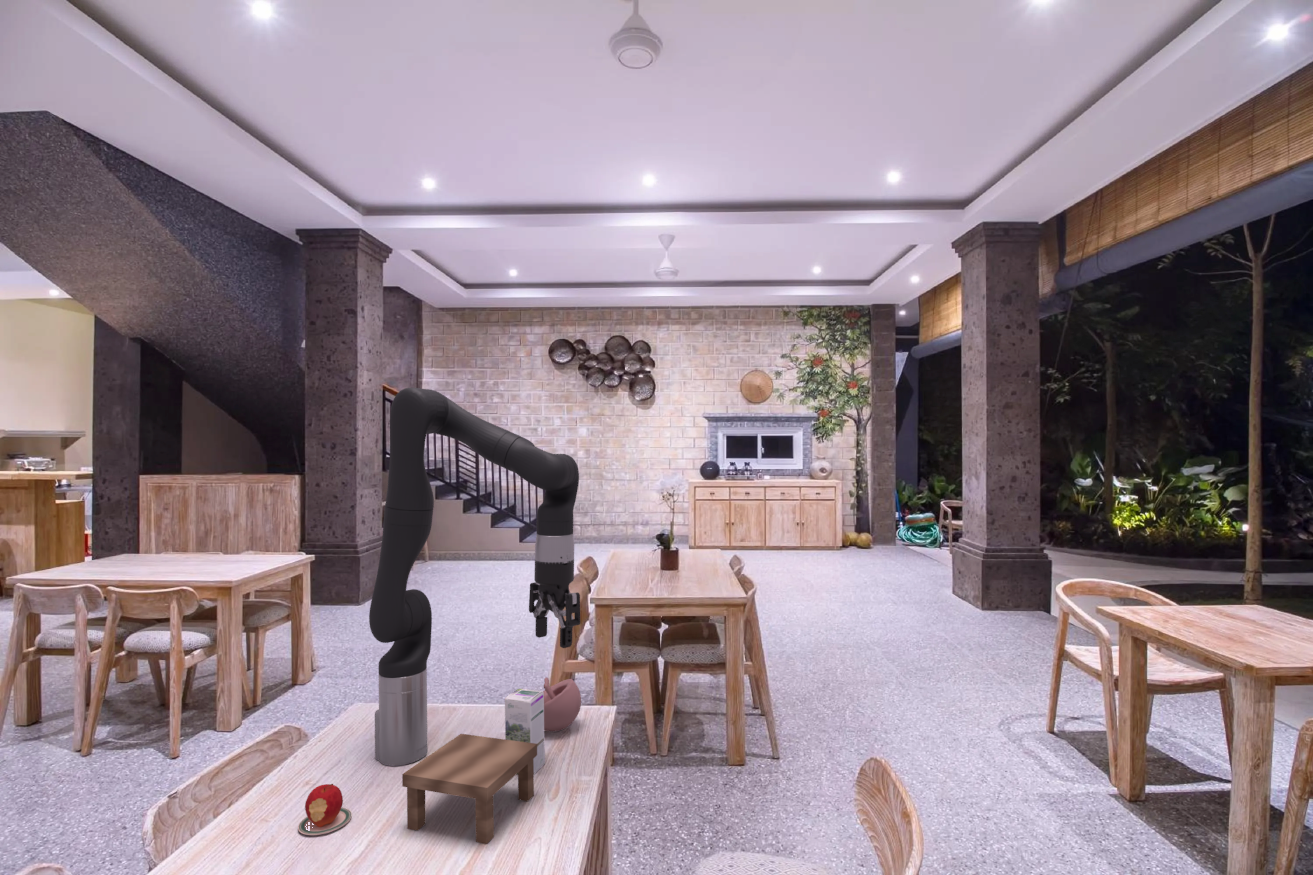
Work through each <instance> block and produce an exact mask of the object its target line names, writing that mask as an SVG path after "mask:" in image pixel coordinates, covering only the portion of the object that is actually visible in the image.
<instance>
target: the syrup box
mask: <svg viewBox="0 0 1313 875" xmlns="http://www.w3.org/2000/svg"><path fill="white" fill-rule="evenodd" d="M543 691H544V690H536V689H525V688H517V689H516V690H514V691H512V692H510V693H509V694H508V695H507V696H506V697H505V698H504V724H505V728H504V729H505V730H504V731H505V732H504V733H505V734H504V736H505V740H512V741H520V742H527V743H535V744H537V756H536V757H535V758H533V764H534V775H535V774H536V773H538V771H539V770H541V769H542V767H543V766H544V765H545V764H546V751H545V730H544V692H543ZM516 775H518V773H517V774H516Z"/></svg>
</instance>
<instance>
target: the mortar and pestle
mask: <svg viewBox="0 0 1313 875" xmlns="http://www.w3.org/2000/svg"><path fill="white" fill-rule="evenodd" d="M543 679H544V684H543V689H544V690H542V691H543V692H544V732H545V731H546V732H550V733H553V732H554V733H555V732H559V731H562V730H564V729H567V728H568V727H569V726H571V725H572V724H573V723H574V722H575V720H576V719H577V717H578V715H579V714H580V713H579V712H580V711H581V707H582V696H581V692H580V689H579V686H578V685H577V683H576V682H575V681H574V680H573V678H568V679H564V680H561V681H559V682H558V683H555V684H553V685H550V679H549V677H545V678H543Z"/></svg>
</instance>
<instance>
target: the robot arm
mask: <svg viewBox="0 0 1313 875" xmlns="http://www.w3.org/2000/svg"><path fill="white" fill-rule="evenodd" d="M389 413H390V415H389V441H390V442H389V443H390V444H389V446H390V447H389V449H390V450H389V464H388V476H387V477H388V478H387V488H386V489H387V490H386V495H385V496H386V498H385V505H384V512H383V513H384V514H383V522H382V539H381V546H380V553H379V559H378V560H379V562H378V568H377V575H376V577H375V583H374V588H373V592H372V596H371V600H370V607H369V617H368V622H369V629H370V632H371V634H372V636H373V637H374V638H375V640H376V641H378V642H379V643H382V644H388V643H392V646H391V647H390V648H389V650H387V652H386V653H384V655H383V656H382V657H381V658H380V659H379V661H378V708H377V710H375V712H374V759H375V760H377V761H379V763H381V765H385V766H390V767H391V766H393V767H394V766H404V765H409V764H411V763H415V762H417V761H419V760H421V759H424V757H425V756H427V754H428V679H427V678H428V666H427V664H428V658H429V656H430V652H431V650H432V647H431V646H432V627H433V626H432V624H433V622H432V621H433V618H432V616H433V613H432V607H431V603H430V600H429V598H428V596H427V595H426V594H425V593H424V592H423V591H421V590H419V589H414V588H412V589H407V586H408V580H409V576H410V572H411V571H412V568H413V566H414V564H415V562H416V561H417V559H418V556H420V553H421V552H422V550H423V548H424V547H425V544H426V542H427V541H428V538H429V536H430V534H431V531H432V525H433V515H434V508H435V506H434V504H435V503H434V502H435V498H434V492H433V489H432V485H431V482H430V480H429V476H428V474H427V470H426V466H425V465H426V464H425V449H426V448H425V447H426V446H425V445H426V440H427V439H426V438H427V435H430V434H431V435H432V434H436V435H439V436H445V437H448V438H449V439H450V438H451V439H454V440H456V441H459V442H461V443H463V444H464V445H466V446H468V447H469V448H470V449H471V450H472V451H473V452H475V453H476V454H477V455H479V456H481V458H483V459H485V460H486V461H488V462H490V463H492V464H495V465H496V466H499V467H501V468H503V469H505V470H507V471H509V472H512V473H514V474H516V475H518V476H519V477H520V478H521V479H523V480H525V481H526V482H527V483H529V484H530V485H532V486H534V487H536V488H538V489H541V490H543V491H544V498H543V502H542V503H541V504H540V505H539V506H538V508H537V512H536V537H535V544H534V582H531V583H530V585H529V594H528V595H529V599H528V600H529V601H528V612H529V613H530V614H531V613H532V614H533V617H534V618H535V630H534V631H535V637H536V638H538V639H540V638H544V637H547V634H548V614H549V612H552V613H553V615H554V617H555V618H557V620H558V622H559V625H560V629H559V647H560V648H562V649H566V648H570V647H572V643H573V628H574V627H575V626H580V625H581V595H580V593H579V591H578V592H570V588H569V585H570V584H571V583H572V582H573V581H574V580H575V575H574V574H575V540H574V509H575V508H574V507H575V504H576V502H577V501H576V500H577V495H578V490H579V483H580V482H579V480H580V471H579V466H578V464H577V461H576V460H575V459H574V458H573V457H572V456H570V455H568V454H567V453H566V454H565V453H552V452H549V451H545V450H543V449H541V448H539V447H537V446H536V445H535V444H534V443H533V441H531V440H529V439H527V438H525V437H523V436H521V435H519V434H516V433H515V432H512V431H510V430H507V429H505V428H503V427H500V426H498V425H496V424H493V423H491V422H489V421H487V420H484V419H483V418H480V417H478V416H477V415H475V414H473V413H471V412H470V411H468V410H466V409H465V408H463V407H462V406H460V405H459V404H458V403H456V402H454V401H452V400H451V399H449V397H447V396H445V395H444V394H443V393H441V392H439V391H437V390H433V389H428V388H420V387H405V388H403V389H401V390H400V391H398V392H397V393H396V394H395V396H394V398H393V400H392V403H391V407H390V412H389ZM535 602H536V604H535ZM573 614H574V616H573Z"/></svg>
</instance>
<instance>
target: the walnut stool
mask: <svg viewBox="0 0 1313 875" xmlns="http://www.w3.org/2000/svg"><path fill="white" fill-rule="evenodd" d="M536 756H537V744H535V743H527V742H520V741H512V740H505V739H503V738H498V737H497V738H495V737H488V736H482V735H474V734H465V733H460V734H458V735H457V736H455V737H454V738H452V739H451V740H450V741H448V742H447V743H445V744H444V745H442V746H441V747H440V748H438V749H436V750H435V751H434V752H432V753H431V754H429V755H427V757H425V758H422V760H421V761H419V762H418V763H416V764H415V765H413V766H412V767H410V768H409V769H408V770H406V771H405V772H404V773H402V774H401V775H402V777H401V778H402V779H401V780H402V781H401V782H402V786H401V787H404V788H406V807H407V808H406V810H407V811H406V813H407V814H406V819H407V821H406V822H407V824H406V826H407V828H406V829H408V830H411V831H419V830H420V829H422V828H423V827H424V826H426V820H427V819H426V818H427V817H426V791H427V792H432V793H437V794H438V793H439V794H444V795H451V796H457V797H464V798H467V799H475V800H474V803H475V806H474V807H475V810H474V812H475V842H476V843H479V844H485V845H487V844H489V842H491V841H492V839H493V838H494V837H495V830H494V828H495V827H494V826H495V824H494V823H495V820H494V819H495V818H494V815H495V812H494V808H495V806H494V795H496V794H497V793H498V792H499V791H500V790H501V789H502V788H503V787H505V785H506V784H507V783H509V782H510V781H511V780H512V779H513V778H514V777H515V776H516V775H517V800H519V801H523V802H529V801H531V799H532V798H534V796H535V787H534V786H535V785H534V784H535V783H534V782H535V777H534V775H535V774H534V764H533V758H535V757H536ZM517 773H518V774H517Z"/></svg>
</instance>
